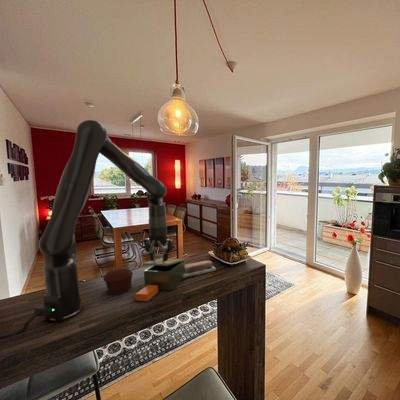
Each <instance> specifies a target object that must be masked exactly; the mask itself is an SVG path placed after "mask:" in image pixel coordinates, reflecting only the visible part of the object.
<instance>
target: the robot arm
mask: <svg viewBox="0 0 400 400" xmlns="http://www.w3.org/2000/svg"><path fill="white" fill-rule="evenodd" d="M99 155H101V156H103V157H104V158H106V159H107V160H108V161H109V162H110V163H112V164H113V165H114V166H116V167H117V169H119V170H120V171H121V172H122V173H123V174H124V175H126V177H128V178H129V179H130V180H131V181H132V182H134V184H136V185H138V186H140V187H142V188H143V189H144V190H145V191H146V200H147V203H148V236H149V237H147V238H144V239H143V245H144V249H145V252H146V253H149V259H150V261H153V254H156V252H155V251H156V249H157V248H159V249H160V250H161V251H162V254H163V261H164V262H166V261H167V260H168V258H169V253H172V252H173V248H174V241H175V240H174V239H172V238H171V239H170V238H168V223H167V222H168V221H167V212H166V211H167V209H166V204H165V203H164V198H163V197H165V196H166V195H167V190H168V189H167V187H166V185H165V184H164V183H163V182H162V181H160V180H159V178H156V177H155V176H154V175H152V174H151V173H150V172H149V171H147V169H145V167H143V165H141V164H140V163H139V162H138V161H137V160H135V159H134V158H132V156H130V155H128V154H127V153H125V152H124V151H123V150H121V148H119V147H118V146H117V145H116V144H115V143H114V142H113V141H112V140H111V139H110V137H109V136H108V131H107V129H106V127H105V126H104V125H103V124H102V123H101V122H99V121H98V120H94V119H87V120H83V121H81V122H80V123H78V125H77V127H76V133H75V139H74V145H73V149H72V152H71V155H70V157H69V159H68V161H67V163H66V165H65V167H64V169H63V171H62V174H61V176H60V179H59V182H58V185H57V188H56V192H55V196H54V200H53V205H52V210H51V215H50V218H49V220H48V223H47V224H46V227H45V229H44V231H43V233H42V234H41V236H40V239H39V241H38V248H39V250H40V252H41V253H42V254H43V267H42V269H43V270H42V271H43V278H44V288H45V294H44V295H43V297H42V299H43V304H42V303H41V304H40V305H38V306H34V309H33V310H34V315H32V316H31V317H30V318H28V319H27V320H26V321H25V323H24V324H23V327H21V328H20V329H18V330H16V331H12V332H9V333H4V334H0V340H1V339H4V338H8V337H11V336H14V335H18V334H20V333H22V332H24V331H25V330H27V329H28V327H29V324H30V323H31V322H32V321H33V320H34V319H36V318H37V317H41V318H42V317H43V318H45V321H46V322H58V323H59V322H62V321H65V320H67V319H70V318H72V317H75V316H76V315H77V314H79V313H80V312H81V311H82V305H81V303H82V299H81V296H80V285H79V275H78V266H77V261H78V257H77V256H78V255H77V245H76V244H77V243H76V236H75V229H76V225H77V221H78V219H79V217H80V215H81V212H82V211H83V210H84V207H85V205H86V203H87V200H88V198H89V195H90V192H91V189H92V186H93V181H94V177H95V173H96V166H97V162H98V157H99Z"/></svg>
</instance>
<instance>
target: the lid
mask: <svg viewBox="0 0 400 400" xmlns="http://www.w3.org/2000/svg"><path fill="white" fill-rule="evenodd" d="M163 254H164V253H155V254H153V261H151V260H149V261H144V262H143V263H142V266H153V265H161V266H169V265H172V264H175V263H178V262H181V261H185V259H186V258H173V257H172V258H170V257H168V260H167V261H166V262H164V261H163Z"/></svg>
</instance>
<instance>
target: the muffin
mask: <svg viewBox="0 0 400 400" xmlns="http://www.w3.org/2000/svg"><path fill="white" fill-rule="evenodd" d="M133 275H134V272H133V271H132V270H131V269H130V268H127V267H124V266H119V267H114V268H112V269H109V271H107V272H106V273H105V275H104V276H103V279H102V280H103V281H104V282H105V285H106V288H107V291H108V295H109V294H110V295H117V294H122V293H125V292H128V291H129V290H130V289H131V288H132V278H133Z"/></svg>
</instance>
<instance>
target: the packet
mask: <svg viewBox="0 0 400 400" xmlns="http://www.w3.org/2000/svg"><path fill="white" fill-rule="evenodd" d="M157 293H159V290H158V285H147V286H146V287H145V286H144V287H143V288H142V289H140V290H139V291H138V292H136V293H135V301H138V302H148V301H150V300H151V299H152V298H153V297H154V296H156V294H157Z"/></svg>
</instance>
